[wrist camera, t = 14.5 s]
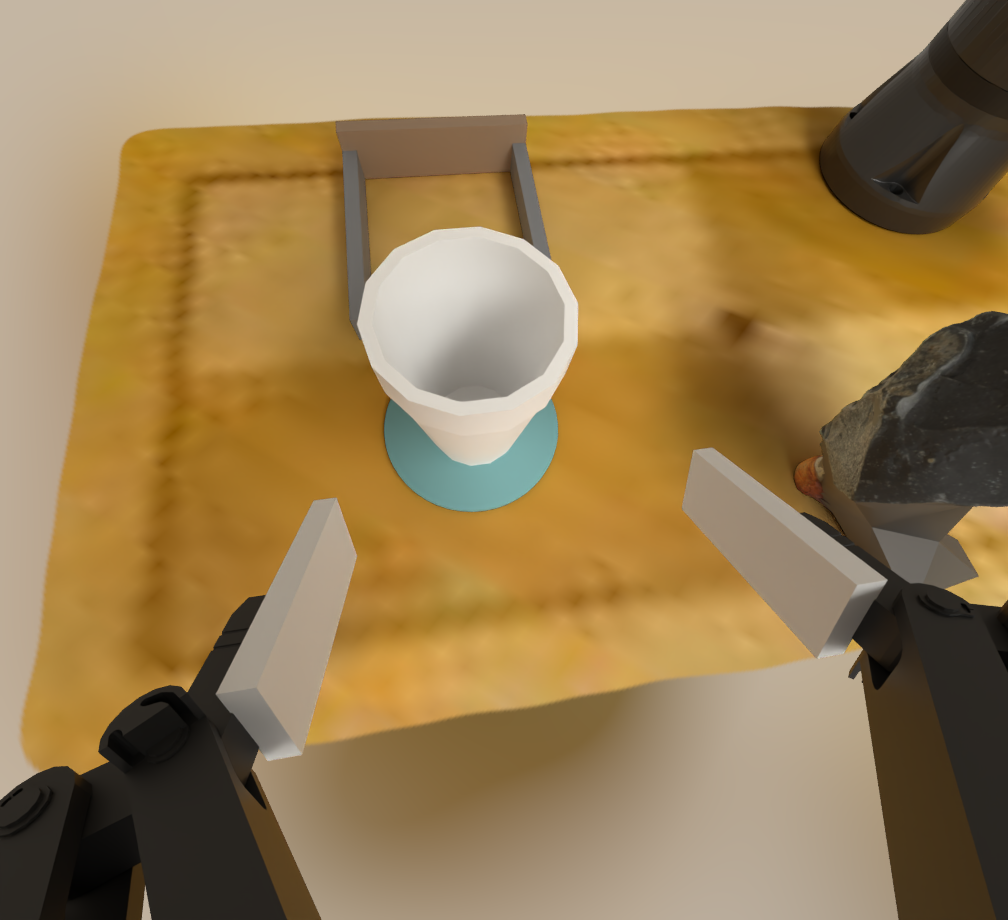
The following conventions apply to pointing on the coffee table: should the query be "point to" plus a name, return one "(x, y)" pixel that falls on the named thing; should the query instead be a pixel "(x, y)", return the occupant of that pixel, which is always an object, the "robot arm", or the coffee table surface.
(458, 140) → the cup lane
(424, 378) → the foam cup
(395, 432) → the teal mat
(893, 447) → the grey rock
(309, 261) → the coffee table surface
